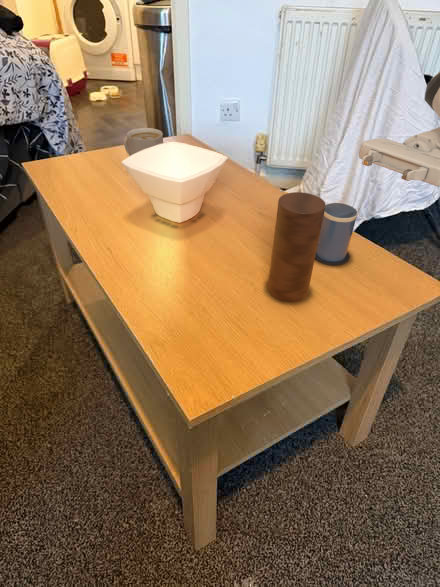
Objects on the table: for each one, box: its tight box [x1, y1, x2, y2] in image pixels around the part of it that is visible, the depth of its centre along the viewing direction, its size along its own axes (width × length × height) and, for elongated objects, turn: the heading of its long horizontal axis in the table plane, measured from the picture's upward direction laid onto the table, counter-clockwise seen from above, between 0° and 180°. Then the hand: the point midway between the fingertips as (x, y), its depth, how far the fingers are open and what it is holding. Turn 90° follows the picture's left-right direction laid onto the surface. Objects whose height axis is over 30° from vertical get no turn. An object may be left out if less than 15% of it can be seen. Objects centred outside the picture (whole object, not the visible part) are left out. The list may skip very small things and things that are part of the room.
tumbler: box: [316, 202, 359, 262], centre depth 84 cm, size 7×7×10 cm
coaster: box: [314, 251, 350, 267], centre depth 87 cm, size 8×8×1 cm
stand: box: [267, 191, 327, 303], centre depth 72 cm, size 8×8×18 cm
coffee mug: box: [123, 127, 164, 157], centre depth 119 cm, size 13×10×10 cm
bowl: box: [121, 140, 229, 224], centre depth 95 cm, size 19×19×14 cm
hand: (384, 168), depth 83 cm, fingers open, 8 cm apart
